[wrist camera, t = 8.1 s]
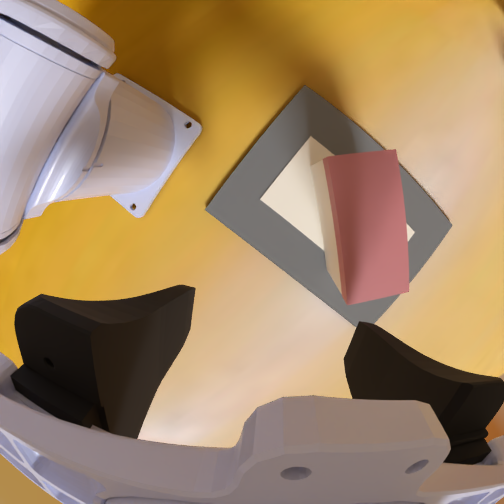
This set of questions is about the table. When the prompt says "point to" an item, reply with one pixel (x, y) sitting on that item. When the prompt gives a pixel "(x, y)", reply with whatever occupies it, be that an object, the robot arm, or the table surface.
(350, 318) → the mat
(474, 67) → the table surface
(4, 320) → the table surface
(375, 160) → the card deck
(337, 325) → the table surface
